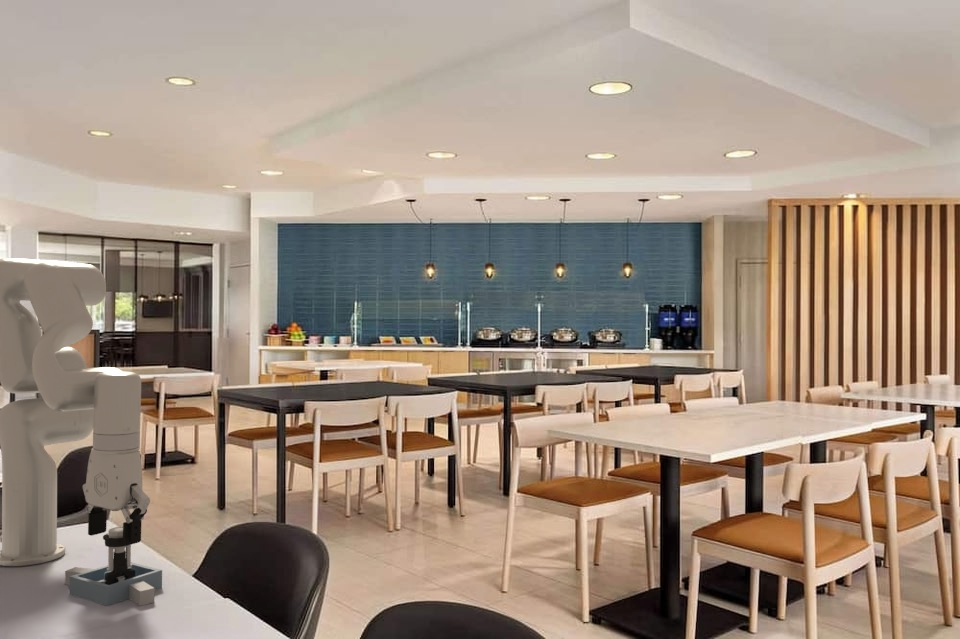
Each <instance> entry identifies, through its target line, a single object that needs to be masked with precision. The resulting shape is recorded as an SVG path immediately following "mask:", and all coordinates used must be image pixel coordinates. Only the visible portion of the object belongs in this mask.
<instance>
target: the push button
mask: <svg viewBox="0 0 960 639" xmlns="http://www.w3.org/2000/svg"><path fill="white" fill-rule="evenodd" d="M102 539H103V540H104V546H105V547H108V552H107V553H108V556H107V557H108V558H107V559H108V563H107V564H108V568H107V571H108V572H105V573H104V580H100V581H96V582H104V584H107V585H111V584H114V583H117V582H120V581H124V580H127V579H130V578H133V577H135V570H134V569H132V568H131V567H132V564H131V560H132V558H131V556H132V554H131V552H132V551H131V550H132V549H131V546H132V544H131V545H128V546H125V545H123V526H117V527H112V528H109V529H108V533H105V534H104V535H103V536H102Z"/></svg>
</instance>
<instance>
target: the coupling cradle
mask: <svg viewBox="0 0 960 639" xmlns="http://www.w3.org/2000/svg"><path fill="white" fill-rule="evenodd" d="M131 564H132V567H131V568H132V569H134V570H135V577H133V578H130V579H127V580H124V581H120V582H117V583H114V584H111V585H107V584H104V582H96V581H100V580H104V573H105V572H108V571H107V568H108V565H104V566H101V567H97V568H88V567H87V568H86V567H80V566H79V567H78V566H74V567H73V568H70V569H67V570H65V571H64V584H65V585H68V586H69V595H70V596H74V597H77V598H80V599H84V600H86V601H90V602H93V603H97V604H100V605H102V606H106V607H108V606H112V605H115V604H116V603H120V602H123V601H126V600H130V601H132V602H134V603H135V604H136V605H138V606H140V607H141V606H145V605H148V604H152V603H155V591H156V590H158V589H162V588H163V570H162V569H160V568H156V567H153V566H147V565H144V564H140V563H135V562H133V561H132V562H131Z"/></svg>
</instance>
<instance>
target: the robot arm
mask: <svg viewBox="0 0 960 639" xmlns="http://www.w3.org/2000/svg"><path fill="white" fill-rule="evenodd" d="M101 271H102V270H100V269H99V268H98V267H96V266H95V265H93V264H90V263H89V264H88V263H78V262H71V261H70V262H69V261H61V260H46V259H45V260H44V259H41V260H40V259H33V258H32V259H30V258H13V257H12V258H11V257H10V258H9V257H8V258H0V385H1V387H2V389H3V390H4V391H5V392H8V393H10V394H16V395H18V394H22V395H23V394H25V395H26V394H39V395H40V396H41V397H38V398H37V397H36V398H26V399H25V398H24V399H18V400H13V401H11V402H8V403H7V404H4V406H3V407H2V408H1V409H0V452H1V453H0V454H1V469H2V470H1V476H2V477H1V484H2V488H1V490H2V493H1V494H2V495H1V500H2V501H1V503H2V504H1V535H0V543H1V549H0V566H2V567H3V566H4V567H24V566H32V565H33V566H34V565H38V564H44V563H47V562H51V561H53V560H56V559H59V558H61V557H63V556H64V555H65V554H66V546H65V545H63V544H61V543H58V542H57V541H58V537H57V536H58V535H57V534H58V533H57V532H58V525H57V524H58V468H57V463H56V462H55V459H53V457H52V456H51V455H50V454H49V453H48V452H47V450H46V448H45V447H46V446H51V445H57V444H64V443H71V442H73V443H74V442H80V441H82V440H85V439H86V438H88V437H89V436H90V435H91V434H92V448H91V449H90V450H91V451H90V453H89V458H88V462H87V470H86V480H85V483H84V484H82V490H83V494H84V502H85V503H86V512H87V513H88V517H87V518H88V521H87V524H88V525H87V526H88V527H87V529H88V530H87V531H88V532H87V535H89V536H95V535H99V534H103V533H106V532H107V523H108V522H107V518H108V517H107V516H108V514H107V513H108V512H107V511H113V512H119V511H121V514H122V515H123V517H124V519H125V522H123V523H122V527H123V545H125V546H128V545H131V546H132V545H135V544H138V543H141V541H142V521H143V520H144V519H145V515H146V514H147V512H148V507H149V505H150V502H151V499H150V497H149V496H148V495H147V493H145V492H144V491H143V468H142V466H143V465H142V460H141V459H142V458H141V457H142V456H141V451H140V448H141V447H140V446H141V445H140V444H141V442H140V441H141V412H142V411H141V410H142V409H141V407H142V406H141V405H142V404H141V403H142V379H141V376H140V375H139V374H138V373H136V372H133V371H124V370H122V369H120V368H118V367H114V366H112V367H111V366H102V367H101V366H100V367H98V366H97V367H87V364H86V361H85V359H84V356H83V355H82V354H81V353H80V351H78V350H77V349H76V348H75V347H72V345H75V344H76V343H78V342H80V341H82V340H83V339H84V338H86V337H87V336H88V335H89V334H90V332H91V331H92V329H93V325H94V324H93V323H94V322H93V317H92V316H91V314H90V312H89V310H88V308H87V307H88V306H89V307H91V306H97V305H99V304H100V303H102V301H103V300H104V299H105V297H106V294H107V282H106V279H105V277H104V274H103V272H101ZM21 301H26V302H27V301H30V304H31V307H32V308H33V311H34V314H35V315H36V316H34V315H33V314H32V312H31V311H30V310H29V309H28V308H26V307H25V306H24V305H23V304H22V303H21ZM36 317H37V318H36ZM42 332H43V334H42ZM92 432H93V433H92ZM130 510H132V512H130Z"/></svg>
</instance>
